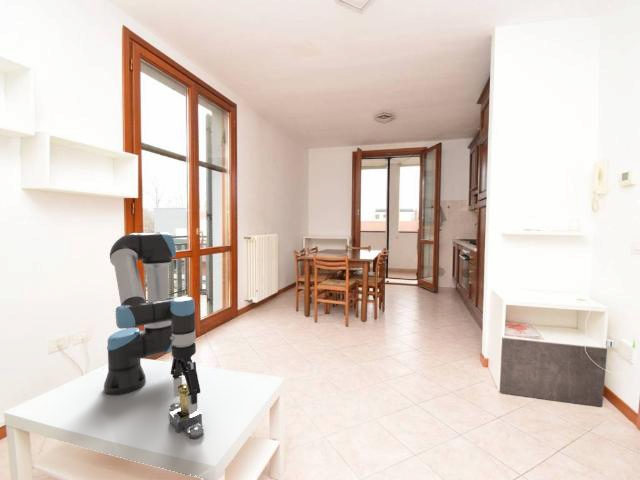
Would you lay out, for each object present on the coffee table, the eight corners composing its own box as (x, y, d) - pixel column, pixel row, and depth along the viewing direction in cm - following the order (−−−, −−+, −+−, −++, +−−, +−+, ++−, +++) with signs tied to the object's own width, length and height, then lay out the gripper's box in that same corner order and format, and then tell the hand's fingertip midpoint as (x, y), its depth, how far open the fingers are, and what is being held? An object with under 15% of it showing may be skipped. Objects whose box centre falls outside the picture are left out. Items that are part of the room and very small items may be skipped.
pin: (177, 422, 111) (175, 386, 110) (189, 417, 114) (187, 382, 113) (182, 428, 108) (180, 391, 107) (194, 422, 111) (192, 387, 110)
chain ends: (162, 413, 116) (162, 403, 116) (185, 404, 122) (185, 395, 122) (186, 443, 100) (185, 433, 100) (210, 432, 106) (210, 422, 106)
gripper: (160, 336, 116) (161, 393, 117) (186, 358, 98) (188, 425, 99) (181, 331, 121) (182, 386, 122) (210, 351, 103) (211, 414, 104)
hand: (185, 403), depth 111 cm, fingers open, 13 cm apart
